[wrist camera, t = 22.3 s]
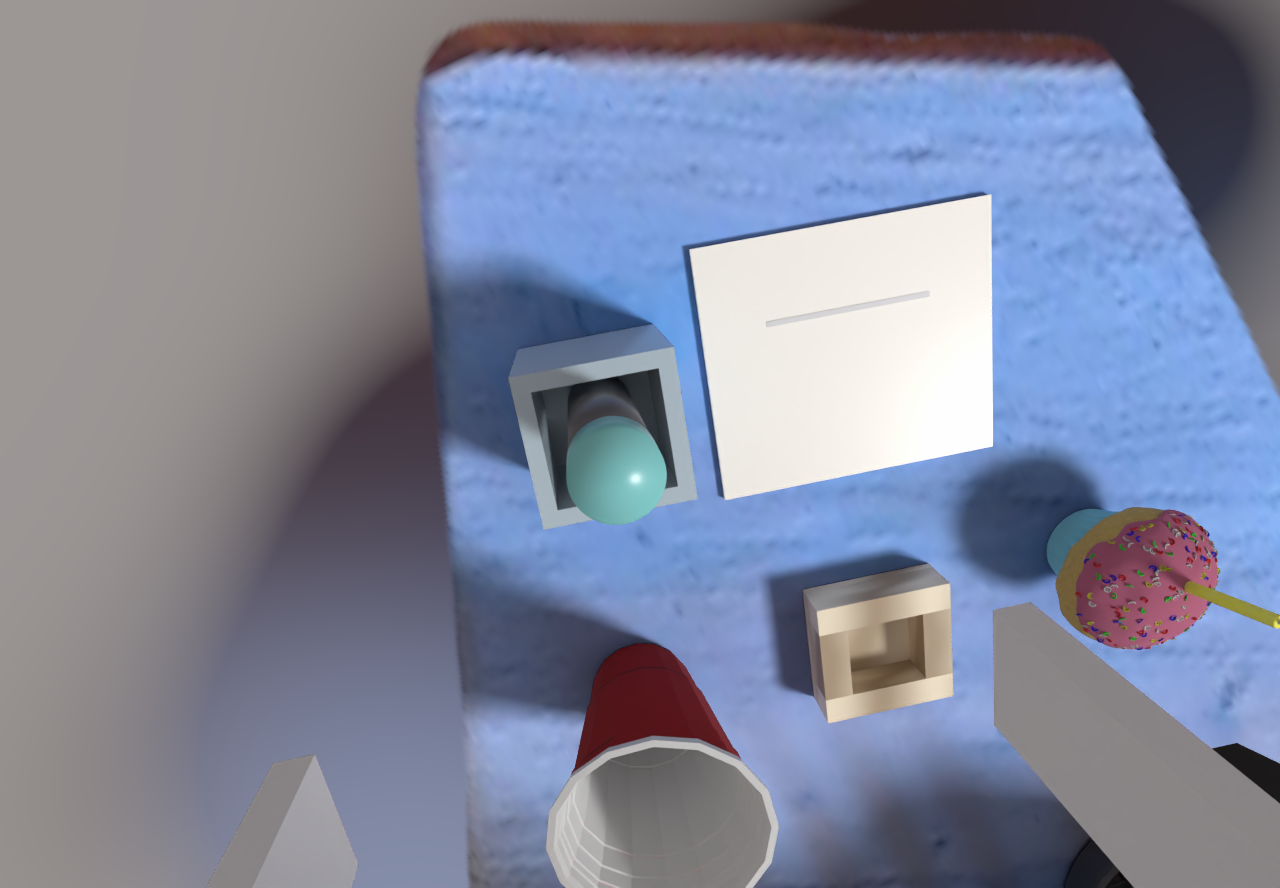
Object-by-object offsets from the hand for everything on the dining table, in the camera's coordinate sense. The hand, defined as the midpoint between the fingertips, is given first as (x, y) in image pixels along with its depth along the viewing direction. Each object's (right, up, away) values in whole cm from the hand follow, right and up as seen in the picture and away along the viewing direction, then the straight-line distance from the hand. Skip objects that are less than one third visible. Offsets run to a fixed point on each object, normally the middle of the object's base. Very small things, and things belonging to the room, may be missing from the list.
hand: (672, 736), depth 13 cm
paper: (+11, +11, +25) cm, 29 cm away
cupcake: (+27, -1, +30) cm, 41 cm away
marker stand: (+14, -6, +31) cm, 34 cm away
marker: (-3, +8, +23) cm, 25 cm away
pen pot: (-3, +8, +24) cm, 26 cm away
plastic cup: (-1, -9, +30) cm, 31 cm away
